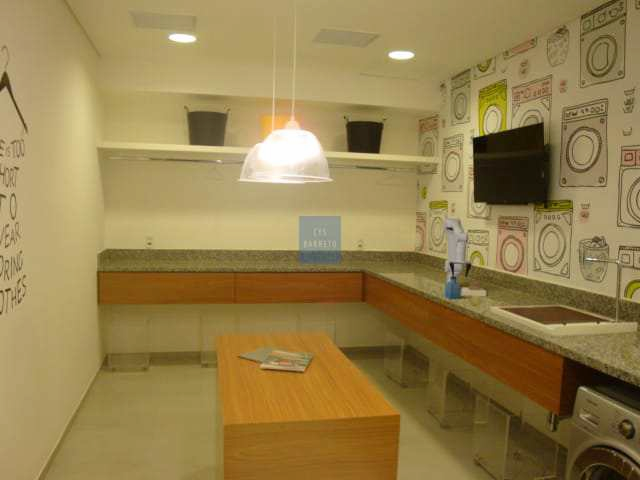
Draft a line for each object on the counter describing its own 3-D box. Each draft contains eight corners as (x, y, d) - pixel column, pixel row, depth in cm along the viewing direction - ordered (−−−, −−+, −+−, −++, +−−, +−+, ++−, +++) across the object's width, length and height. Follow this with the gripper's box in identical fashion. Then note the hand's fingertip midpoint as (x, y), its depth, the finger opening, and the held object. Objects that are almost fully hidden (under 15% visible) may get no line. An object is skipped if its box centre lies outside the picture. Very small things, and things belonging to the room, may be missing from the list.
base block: (461, 292, 311) (461, 287, 311) (482, 293, 309) (482, 288, 309) (464, 295, 299) (464, 290, 299) (485, 297, 297) (486, 291, 297)
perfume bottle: (450, 299, 284) (451, 277, 283) (444, 297, 290) (445, 275, 289) (460, 299, 286) (461, 277, 285) (454, 296, 292) (455, 275, 291)
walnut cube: (468, 288, 307) (469, 280, 306) (477, 289, 306) (478, 280, 305) (469, 289, 302) (470, 281, 301) (478, 290, 301) (479, 281, 300)
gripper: (448, 253, 303) (447, 276, 304) (474, 254, 301) (473, 277, 302) (447, 252, 310) (446, 274, 311) (472, 253, 308) (471, 276, 309)
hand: (459, 276), depth 307 cm, fingers open, 7 cm apart
